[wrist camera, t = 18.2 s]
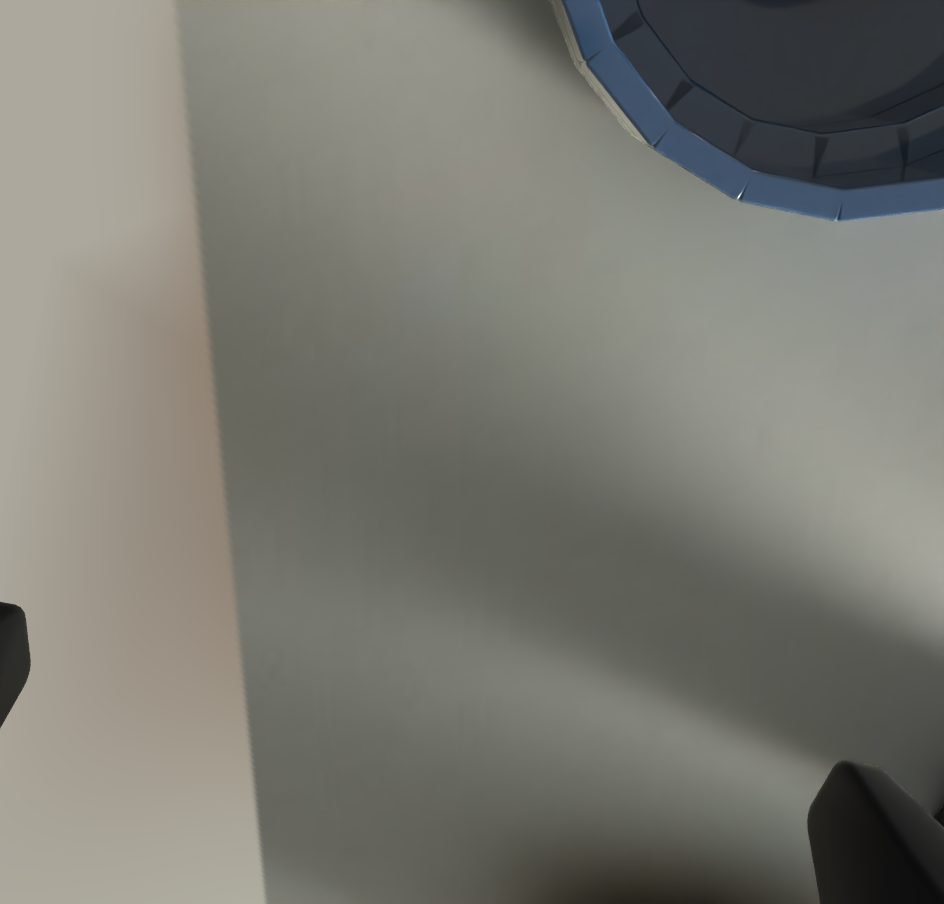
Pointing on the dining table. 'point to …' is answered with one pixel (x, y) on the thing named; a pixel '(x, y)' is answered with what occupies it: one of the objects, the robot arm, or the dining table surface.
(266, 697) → the dining table surface
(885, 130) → the bowl
